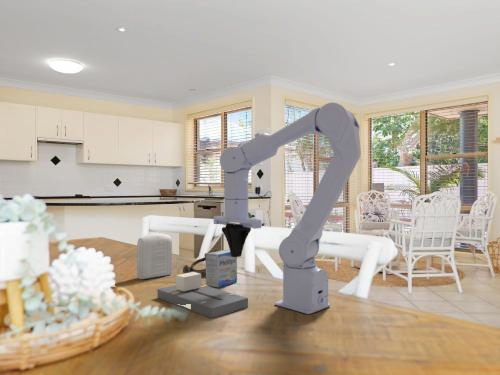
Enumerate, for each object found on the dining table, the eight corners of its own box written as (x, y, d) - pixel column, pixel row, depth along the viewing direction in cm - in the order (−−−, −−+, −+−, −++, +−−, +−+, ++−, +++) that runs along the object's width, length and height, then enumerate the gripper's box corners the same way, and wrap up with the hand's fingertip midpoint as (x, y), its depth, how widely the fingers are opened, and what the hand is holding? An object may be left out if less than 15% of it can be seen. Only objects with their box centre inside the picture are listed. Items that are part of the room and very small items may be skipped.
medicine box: (218, 288, 101) (218, 254, 101) (205, 285, 104) (205, 252, 104) (237, 282, 107) (237, 250, 107) (225, 280, 110) (225, 248, 110)
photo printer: (166, 272, 119) (166, 231, 119) (174, 274, 116) (174, 232, 116) (134, 278, 112) (134, 234, 112) (142, 280, 109) (142, 235, 109)
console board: (248, 307, 86) (248, 297, 86) (212, 318, 79) (212, 307, 79) (192, 289, 100) (192, 280, 100) (157, 297, 93) (157, 288, 93)
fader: (201, 287, 93) (201, 273, 93) (183, 291, 90) (183, 277, 90) (193, 285, 95) (193, 271, 95) (176, 289, 92) (176, 275, 92)
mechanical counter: (225, 259, 112) (230, 246, 121) (180, 254, 113) (189, 241, 122) (223, 283, 114) (228, 268, 123) (179, 277, 114) (188, 263, 124)
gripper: (203, 198, 96) (203, 254, 96) (245, 200, 86) (245, 263, 86) (225, 198, 101) (225, 251, 101) (267, 199, 91) (267, 258, 91)
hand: (236, 256), depth 94 cm, fingers closed
